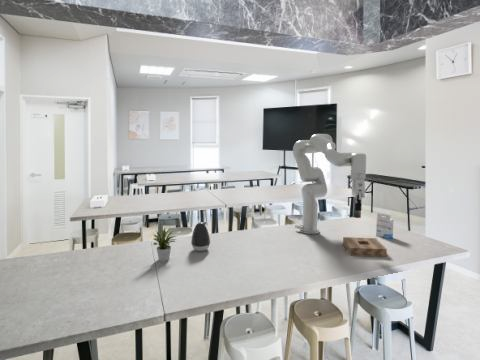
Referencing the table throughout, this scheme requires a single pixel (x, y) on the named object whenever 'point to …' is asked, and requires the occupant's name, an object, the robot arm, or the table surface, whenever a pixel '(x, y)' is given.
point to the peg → (355, 213)
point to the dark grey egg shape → (200, 237)
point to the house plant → (163, 245)
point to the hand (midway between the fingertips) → (357, 209)
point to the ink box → (384, 226)
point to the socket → (364, 246)
